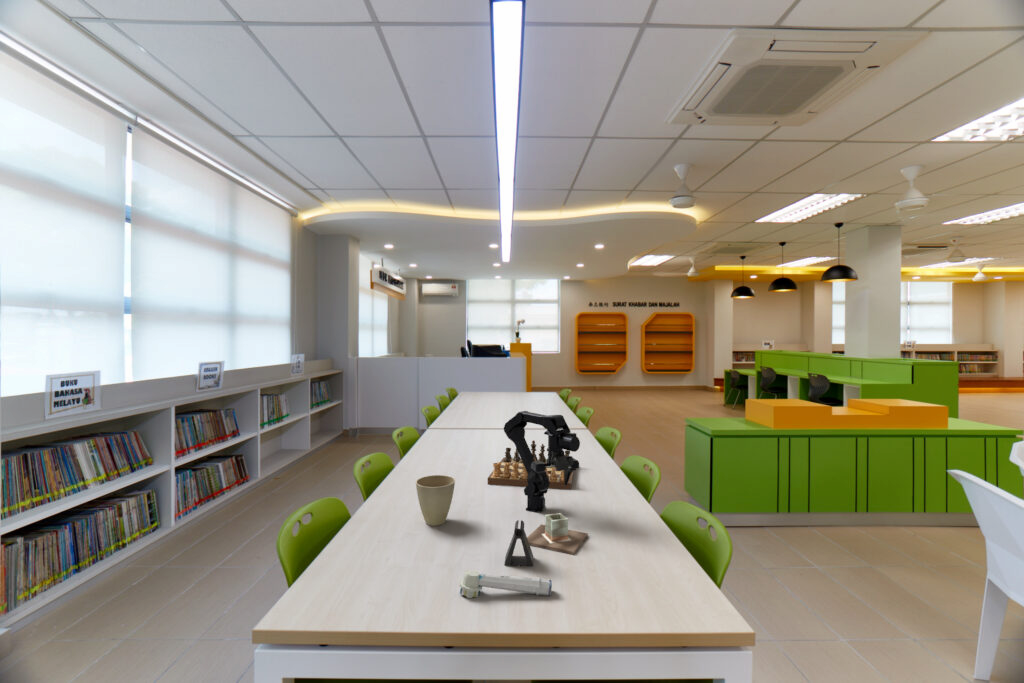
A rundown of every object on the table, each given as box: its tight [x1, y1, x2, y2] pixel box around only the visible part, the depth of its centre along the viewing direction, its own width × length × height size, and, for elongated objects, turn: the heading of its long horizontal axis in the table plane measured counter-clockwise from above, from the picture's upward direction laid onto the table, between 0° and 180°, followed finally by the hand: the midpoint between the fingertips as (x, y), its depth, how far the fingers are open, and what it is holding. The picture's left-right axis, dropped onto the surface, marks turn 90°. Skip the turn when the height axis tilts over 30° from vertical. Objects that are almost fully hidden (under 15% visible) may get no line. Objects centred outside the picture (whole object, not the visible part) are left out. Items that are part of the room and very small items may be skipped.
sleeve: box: [544, 512, 569, 542], centre depth 162 cm, size 6×6×7 cm
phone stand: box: [504, 519, 535, 567], centre depth 146 cm, size 9×6×12 cm, turn 86°
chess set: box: [487, 440, 575, 491], centre depth 239 cm, size 40×40×15 cm
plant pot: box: [415, 474, 456, 527], centre depth 177 cm, size 15×15×16 cm
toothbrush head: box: [459, 569, 553, 599], centre depth 128 cm, size 5×7×25 cm
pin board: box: [527, 523, 589, 556], centre depth 162 cm, size 18×16×7 cm
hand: (555, 486), depth 183 cm, fingers open, 9 cm apart
